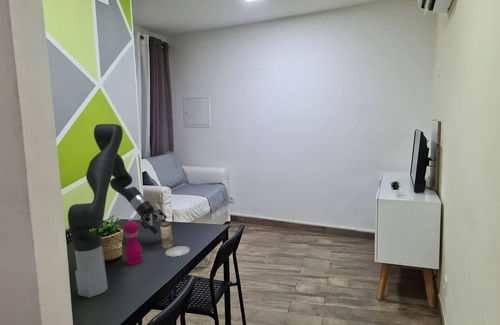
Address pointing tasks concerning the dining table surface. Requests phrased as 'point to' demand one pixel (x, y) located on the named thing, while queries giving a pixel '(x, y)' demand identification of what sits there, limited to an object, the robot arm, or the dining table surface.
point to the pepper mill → (132, 243)
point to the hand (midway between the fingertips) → (162, 229)
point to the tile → (177, 251)
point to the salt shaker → (166, 235)
